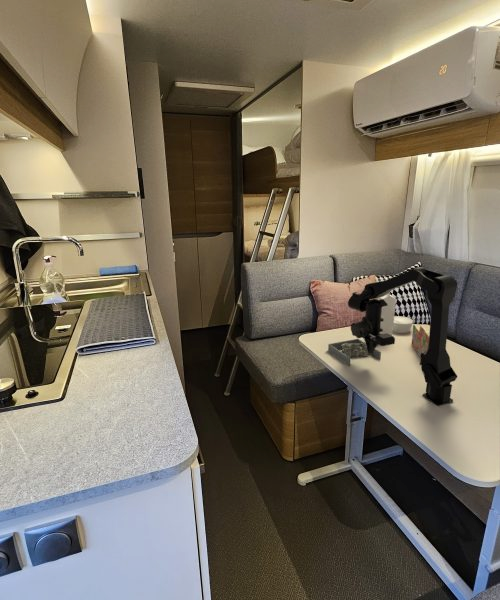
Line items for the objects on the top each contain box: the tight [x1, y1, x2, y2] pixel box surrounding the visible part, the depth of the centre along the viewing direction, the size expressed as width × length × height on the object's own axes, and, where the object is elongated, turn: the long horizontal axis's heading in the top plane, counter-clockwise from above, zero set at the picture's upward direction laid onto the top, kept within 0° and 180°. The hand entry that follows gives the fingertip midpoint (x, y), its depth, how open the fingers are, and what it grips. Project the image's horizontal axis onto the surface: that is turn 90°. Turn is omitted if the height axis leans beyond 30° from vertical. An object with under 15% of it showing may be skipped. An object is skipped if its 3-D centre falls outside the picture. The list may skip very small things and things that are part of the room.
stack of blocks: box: [411, 323, 430, 359], centre depth 141 cm, size 21×6×12 cm, turn 169°
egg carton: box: [341, 341, 370, 358], centre depth 145 cm, size 11×8×4 cm
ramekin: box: [393, 315, 414, 334], centre depth 168 cm, size 11×11×5 cm
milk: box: [377, 292, 397, 336], centre depth 159 cm, size 6×6×22 cm
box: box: [327, 338, 382, 366], centre depth 143 cm, size 15×15×3 cm
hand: (370, 353), depth 133 cm, fingers closed
